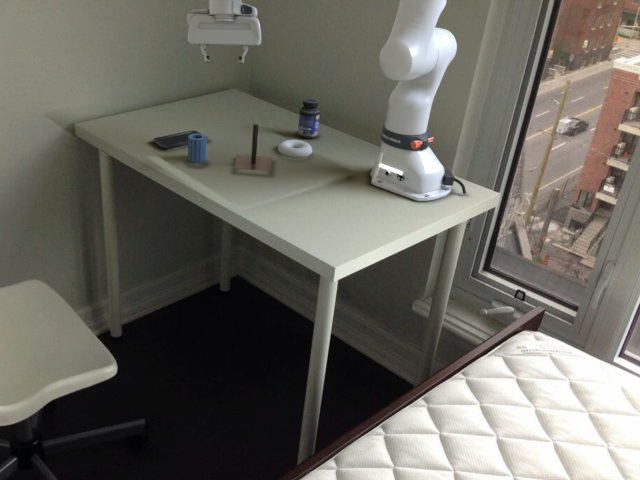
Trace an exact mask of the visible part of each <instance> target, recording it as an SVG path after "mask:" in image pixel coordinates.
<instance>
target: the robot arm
mask: <svg viewBox="0 0 640 480" xmlns="http://www.w3.org/2000/svg"><path fill="white" fill-rule="evenodd" d="M447 1H448V0H399V2H398V8H397V12H396V16H395V20H394V23H393V26H392V29H391V32H390V35H389V37H388V39H387V40H386V42H385V43H384V45H383V47H382V48H381V49H380V52H379V56H378V64H379V68H380V70H381V72H382V74H383V75H384V76H385V77H386V78H387V79H389V80H391V81H394V82H395V81H398V82H397V83H396V84H397V85H396V86H395V88H394V89H393V90H392V92H391V93H390V95H389V97H388V102H387V107H386V115H385V121H384V124H383V125H382V129H381V133H380V140H381V143H380V145H379V146H380V147H379V149H378V154H377V157H376V160H375V163H374V165H373V167H372V170H371V172H370V177H371V182H370V184H371V185H372V186H375V187H378V188H381V189H384V190H385V191H388V192H392V193H394V194H397V195H400V196H402V197H406V198H408V199H411V200H413V201H416V202H428V201H435V200H438V199H441V198H444V197H447V196H448V195H449V194H450V193H451V191H452V186H454V183H455V182H456V184H459V186H460V187H461V190H462V195H465V194H467V191H466V189H467V188H466V187H465V184H464V183H463V182H462V181H461V180H459V179H458V178H456V177H455V176H454V175H453V172H452V171H451V170H450V169H445V167H444V165H443V164H442V163H441V162H440V160H439V159H438V157H437V156H436V154H435V153H434V152H433V150H432V149H431V147H430V145H431V144H430V143H432V142H434V140H433V139H434V138H435V136H432V137H429V131H428V126H429V125H428V124H429V120H430V116H431V110H432V106H433V102H434V100H435V96H436V94H437V91H438V89H439V87H440V85H441V82H442V80H443V77H444V74H445V73H446V71H447V68H448V67H449V65H450V64H451V62H452V61H453V60H454V58H455V57H456V54H457V52H458V51H457V50H458V43H457V40H456V38H455V36H454V34H453V33H452V32H451V31H450V30H448V29H446V28H442V27H436V26H437V23H438V20H439V18H440V17H441V14H442V12H443V11H444V9H445V7H446V6H447V3H448V2H447ZM258 13H259V12H258V9H257V8H256V7H255V6H253V5H251V4H247V3H245V2H243V1H242V0H208V9H206V8H205V9H204V8H203V9H197V8H193V9H192V10H190V11H188V13H187V15H186V23H187V26H188V30H187V43H188V44H189V45H190V46H200V51H201V53H202V55H203V57H204V58H203V59H204V63H205V64H211V56H210V55H208V54H207V53H206V50H207V47H210V46H211V47H242V49H243V53H242V55H239V56H238V64H242V65H243V64H245V57H246V56H247V53H248V52H249V47H254V48H255V47H256V48H258V47H260V46H261V45H262V30H261V23H260V21H259V18H258Z"/></svg>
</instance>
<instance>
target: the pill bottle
mask: <svg viewBox="0 0 640 480" xmlns="http://www.w3.org/2000/svg"><path fill="white" fill-rule="evenodd" d="M319 102H320V101H319V100H318V99H316V98H311V97H309V98H304V99H303V100H302V106H301V107H300V109H299V117H298V126H297V127H298V128H297V135H298V137H300V138H302V139H307V140H313V139H316V138H317V137H318V133H319V123H320V114H321V113H320V112H321V110H320V109H319V107H318V106H319Z"/></svg>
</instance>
